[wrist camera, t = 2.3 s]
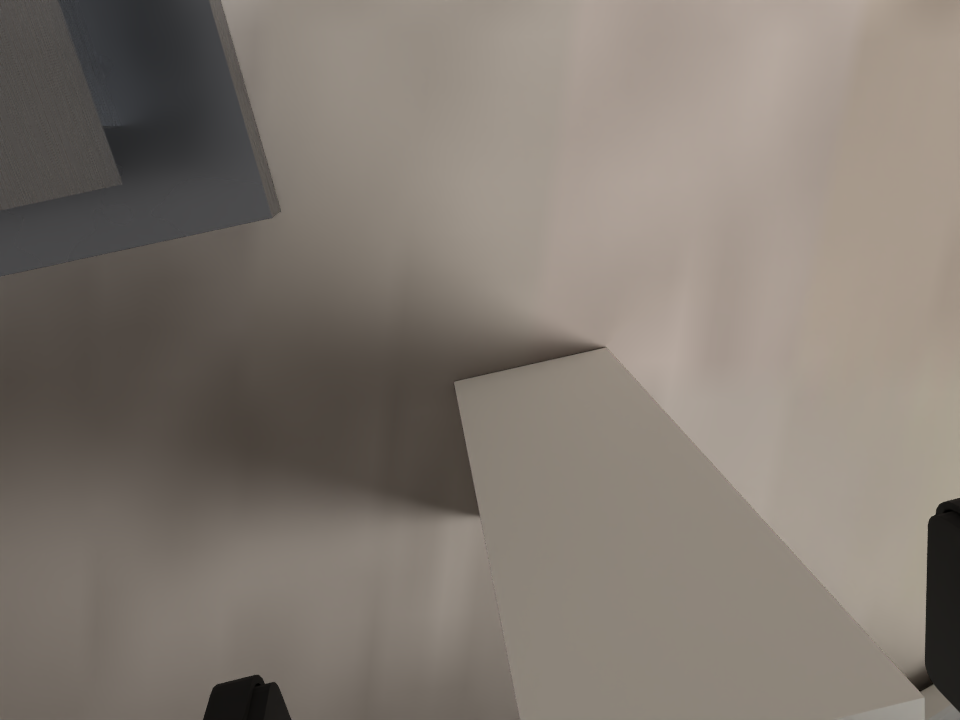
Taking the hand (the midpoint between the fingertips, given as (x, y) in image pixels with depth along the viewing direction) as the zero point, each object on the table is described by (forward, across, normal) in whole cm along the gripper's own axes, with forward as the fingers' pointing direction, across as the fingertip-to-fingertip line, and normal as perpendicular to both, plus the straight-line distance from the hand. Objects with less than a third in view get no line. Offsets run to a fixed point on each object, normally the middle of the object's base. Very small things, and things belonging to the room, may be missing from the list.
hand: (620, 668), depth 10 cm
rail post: (+9, -1, +1) cm, 9 cm away
